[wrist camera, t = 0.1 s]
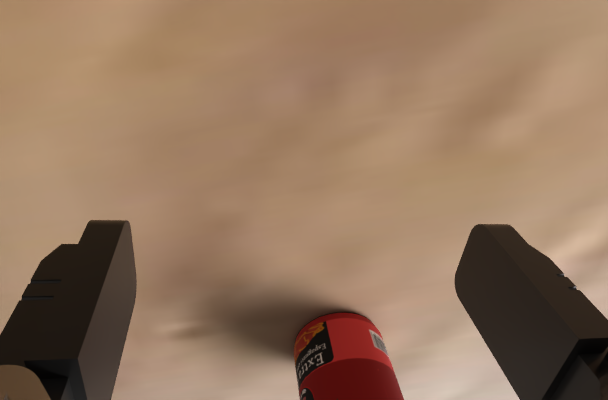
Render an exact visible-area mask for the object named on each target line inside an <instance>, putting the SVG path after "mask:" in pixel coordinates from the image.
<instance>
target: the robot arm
mask: <svg viewBox="0 0 608 400" xmlns="http://www.w3.org/2000/svg"><path fill="white" fill-rule="evenodd" d="M455 289H456V293H457V296H458V298H459V299H460V301H461V303H462V304H463V306H464V308H465V309H466V311H467V313H468V314H469V316H470V318H471V319H472V321H473V323H474V324H475V326H476V328H477V329H478V331H479V333H480V334H481V336H482V338H483V339H484V341H485V343H486V344H487V346H488V347H489V349H490V351H491V352H492V354H493V356H494V357H495V359H496V361H497V362H498V364H499V366H500V367H501V369H502V371H503V372H504V374H505V376H506V377H507V379H508V381H509V382H510V384H511V386H512V387H513V389H514V391H515V392H516V394H517V395H518V397H519V399H520V400H608V320H607V319H606V318H605V317H604V315H603V314H602V313H601V312H600V311H599V310H598V309H597V308H596V307H595V306H594V305H593V304H592V303H591V302H590V301H589V300H588V298H587V297H586V296H585V295H584V294H583V293H582V292H581V291H580V290H577V289H576V286H575V285H574V284H573V283H572V282H571V280H570V279H569V278H568V277H564V273H563V272H562V271H561V270H560V269H559V268H558V267H557V266H556V265H555V264H554V262H553V261H552V260H551V259H550V258H548V257H547V256H545V255H544V254H542V253H541V252H539V251H538V250H536V249H535V248H533V247H532V246H530V245H529V244H528V243H527V242H526V241H525V240H524V239H523V238H522V237H521V236H520V235H519V234H518V232H517V231H516V230H515V229H514V228H513V227H512V226H510V225H507V224H478V225H476V226H474V228H473V229H472V230H471V233H470V235H469V238H468V241H467V243H466V246H465V249H464V252H463V254H462V257H461V260H460V262H459V265H458V268H457V271H456V274H455ZM135 298H136V269H135V261H134V252H133V243H132V235H131V227H130V223H129V221H121V220H91V221H89V222H88V224H87V226H86V228H85V230H84V233H83V235H82V237H81V239H80V241H79V243H78V244H61V245H60V246H59V247H57V248H56V249H55V250H54V251H53V252H51V253H50V254H49V255H48V256H46V257H45V258H44V259H43V260H42V261H41V262H40V264H39V266H38V268H37V269H36V271H35V273H34V275H33V277H32V279H31V283H30V284H28V286H27V288H26V289H25V291H24V293H23V295H22V300H21V301H19V302H18V304H17V306H16V308H15V309H14V311H13V313H12V315H11V317H10V318H9V320H8V322H7V324H6V326H5V327H4V329H3V331H2V333H1V335H0V400H111V397H112V393H113V389H114V385H115V381H116V377H117V373H118V369H119V365H120V360H121V356H122V352H123V348H124V344H125V340H126V336H127V332H128V328H129V324H130V320H131V316H132V312H133V308H134V304H135Z"/></svg>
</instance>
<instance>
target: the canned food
mask: <svg viewBox="0 0 608 400" xmlns="http://www.w3.org/2000/svg"><path fill="white" fill-rule="evenodd" d="M294 359H295V367H296V374H297V381H298V389H299V396H300V400H404V398H403V396H402V393H401V390H400V387H399V384H398V381H397V379H396V376H395V373H394V370H393V367H392V364H391V361H390V359H389V356H388V353H387V350H386V347H385V344H384V342H383V339H382V336H381V334H380V332H379V330H378V329H377V328H376V327H375V325H374V324H373V323H372V322H371V321H370V320H368V319H367V318H365V317H363V316H361V315H358V314H353V313H333V314H328V315H325V316H322V317H319V318H317V319H315V320H313V321H311V322H310V323H308V324H307V325H306V326H305V327H304V328H303V329H302V330H301V331H300V332H299V334H298V335H297V338H296V341H295V346H294Z"/></svg>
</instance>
